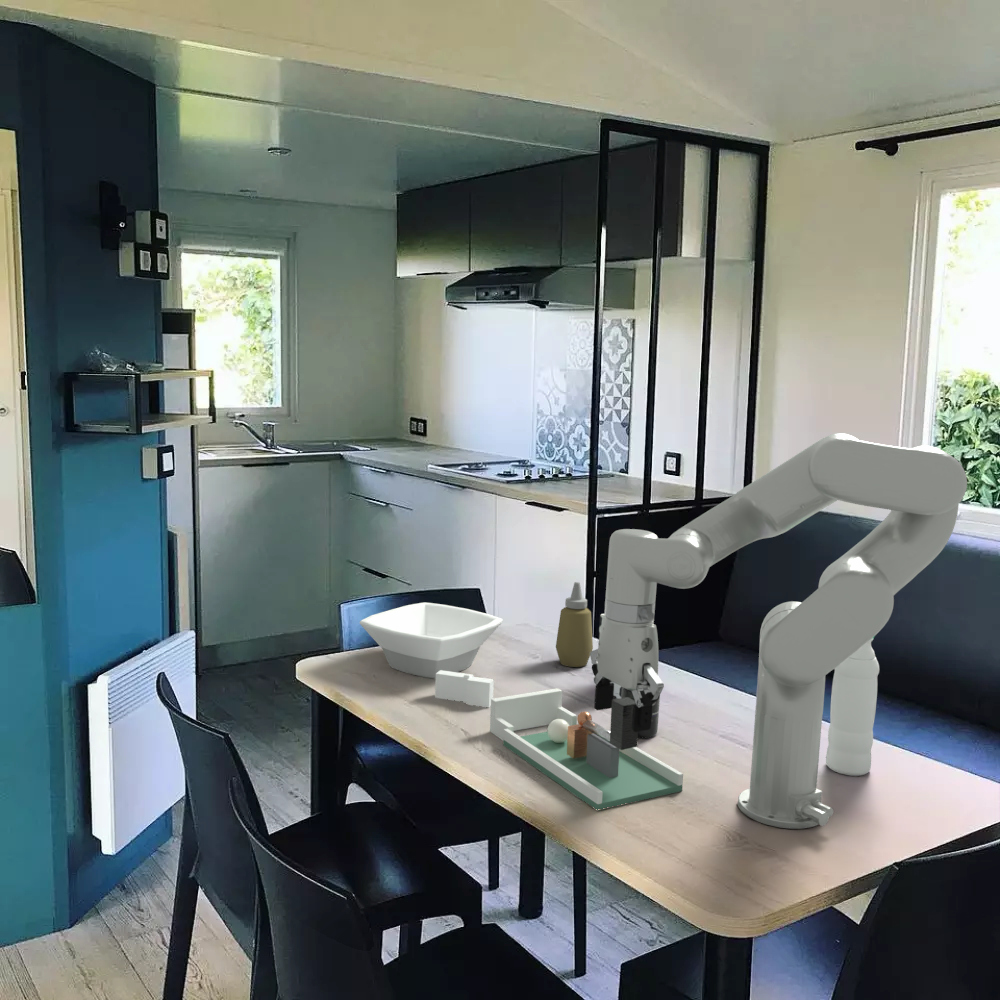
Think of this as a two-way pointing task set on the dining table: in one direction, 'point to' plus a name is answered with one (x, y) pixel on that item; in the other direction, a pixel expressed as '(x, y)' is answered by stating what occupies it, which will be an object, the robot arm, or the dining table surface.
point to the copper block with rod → (616, 736)
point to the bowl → (430, 637)
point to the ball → (558, 730)
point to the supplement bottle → (654, 718)
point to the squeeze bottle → (574, 631)
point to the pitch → (591, 777)
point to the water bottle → (853, 713)
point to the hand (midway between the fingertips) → (621, 719)
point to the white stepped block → (464, 688)
